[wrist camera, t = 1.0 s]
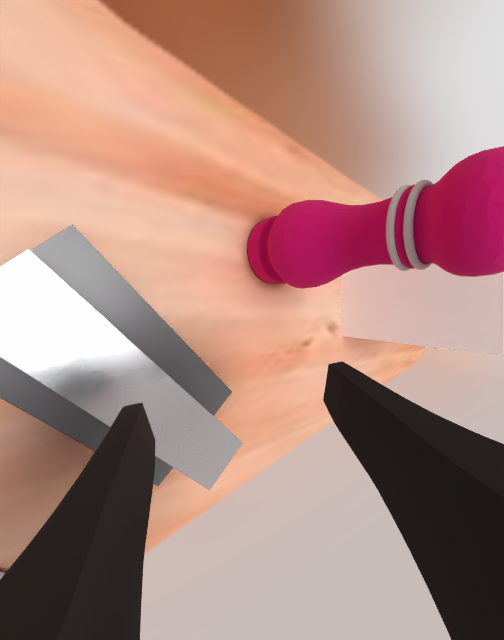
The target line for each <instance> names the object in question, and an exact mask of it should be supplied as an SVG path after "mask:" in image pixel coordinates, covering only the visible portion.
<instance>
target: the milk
mask: <svg viewBox="0 0 504 640" xmlns="http://www.w3.org/2000/svg"><path fill="white" fill-rule="evenodd" d="M341 286H342V336H346V337H354V338H362V339H371V340H379V341H387V342H395V343H403V344H412V345H420V346H428V347H436V348H445V349H453V350H461V351H469V352H478V353H486V354H494V355H503V356H504V272H501V273H498V274H494V275H486V276H477V277H467V276H457V275H453V274H451V273H449V272H446V271H445V270H443V269H442V268H440V267H439V266H437V265H436V264H434V263H432V264H431V265H430V266H429V267H428V268H426V269H424V270H418V269H416V268H414V269H409V270H407V271H402V270H399V269H398V268H397V267H396V266H395V265H373V266H366V267H361V268H358V269H355V270H351V271H349V272H347V273H345V274H343V275H341Z"/></svg>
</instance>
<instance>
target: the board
mask: <svg viewBox="0 0 504 640" xmlns="http://www.w3.org/2000/svg"><path fill="white" fill-rule="evenodd" d="M30 252H32V253H33V254H34V255H35V256H36V257H37V258H38V259H39V260H40V261H42V262H43V263H44V264H45V265H46V266H47V267H48V268H49V269H50V270H52V271H53V272H54V273H55V274H56V275H57V276H58V277H59V278H60V279H62V280H63V281H64V282H65V283H66V284H67V285H68V286H69V287H70V288H72V289H73V290H74V291H75V292H76V293H77V294H78V295H79V296H80V297H82V298H83V299H84V300H85V301H86V302H87V303H88V304H89V305H90V306H92V307H93V308H94V309H95V310H96V311H97V312H98V313H99V314H100V315H102V316H103V317H104V318H105V319H106V320H107V321H108V322H109V323H110V324H112V325H113V326H114V327H115V328H116V329H117V330H118V331H119V332H120V333H122V334H123V335H124V336H125V337H126V338H127V339H128V340H129V341H130V342H132V343H133V344H134V345H135V346H136V347H137V348H138V349H139V350H140V351H142V352H143V353H144V354H145V355H146V356H147V357H148V358H149V359H150V360H152V361H153V362H154V363H155V364H156V365H157V366H158V367H159V368H161V369H162V370H163V371H164V372H165V373H166V374H167V375H168V376H169V377H171V378H172V379H173V380H174V381H175V382H176V383H177V384H178V385H179V386H181V387H182V388H183V389H184V390H185V391H186V392H187V393H188V394H189V395H191V396H192V397H193V398H194V399H195V400H196V401H197V402H198V403H199V404H201V405H202V406H203V407H204V408H205V409H206V410H207V411H208V412H209V413H211V414H212V415H213V416H214V415H215V413H216V412H217V411H218V409H219V408H220V407H221V406H222V404H223V403H224V402H225V401H226V399H227V398H228V397H229V395H230V394H231V393H232V391H231V390H230V389H229V388H228V387H227V386H226V385H225V384H224V383H223V382H222V381H221V380H220V379H219V378H218V377H217V376H216V375H215V373H214V372H213V371H212V370H211V369H210V368H209V367H208V366H207V365H206V364H205V363H204V362H203V361H202V360H201V359H200V358H199V357H198V356H197V355H196V354H195V353H194V351H193V350H192V349H191V348H190V347H189V346H188V345H187V344H186V343H185V342H184V341H183V340H182V339H181V338H180V337H179V336H178V335H177V334H176V333H175V332H174V331H173V329H172V328H171V327H170V326H169V325H168V324H167V323H166V322H165V321H164V320H163V319H162V318H161V317H160V316H159V315H158V314H157V313H156V312H155V311H154V310H153V309H152V307H151V306H150V305H149V304H148V303H147V302H146V301H145V300H144V299H143V298H142V297H141V296H140V295H139V294H138V293H137V292H136V291H135V290H134V289H133V288H132V287H131V285H130V284H129V283H128V282H127V281H126V280H125V279H124V278H123V277H122V276H121V275H120V274H119V273H118V272H117V271H116V270H115V269H114V268H113V267H112V266H111V265H110V263H109V262H108V261H107V260H106V259H105V258H104V257H103V256H102V255H101V254H100V253H99V252H98V251H97V250H96V249H95V248H94V247H93V246H92V245H91V244H90V243H89V241H88V240H87V239H86V238H85V237H84V236H83V235H82V234H81V233H80V232H79V231H78V230H77V229H76V228H75V227H74V226H73V225H71V226H70V227H68V228H67V229H65V230H63V231H62V232H60V233H59V234H57V235H55V236H54V237H52V238H51V239H49V240H47V241H46V242H44V243H42V244H41V245H39V246H38V247H36V248H34V249H33V250H31V251H30ZM0 398H1V399H3V400H5V401H7V402H9V403H10V404H12V405H14V406H16V407H18V408H19V409H21V410H23V411H25V412H26V413H28V414H30V415H32V416H34V417H35V418H37V419H39V420H41V421H43V422H44V423H46V424H48V425H50V426H52V427H53V428H55V429H57V430H59V431H61V432H62V433H64V434H66V435H68V436H69V437H71V438H73V439H75V440H77V441H78V442H80V443H82V444H84V445H86V446H87V447H89V448H91V449H93V450H95V451H96V450H97V448H98V447H99V445H100V443H101V442H102V440H103V439H104V437H105V435H106V434H107V432H108V430H109V429H110V426H108V425H106V424H105V423H103V422H102V421H100V420H99V419H97V418H96V417H94V416H92V415H91V414H89V413H88V412H86V411H85V410H83V409H81V408H80V407H78V406H77V405H75V404H74V403H72V402H71V401H69V400H67V399H66V398H64V397H63V396H61V395H60V394H58V393H56V392H55V391H53V390H52V389H50V388H49V387H47V386H46V385H44V384H42V383H41V382H39V381H38V380H36V379H35V378H33V377H31V376H30V375H28V374H27V373H25V372H24V371H22V370H21V369H19V368H17V367H16V366H14V365H13V364H11V363H10V362H8V361H6V360H5V359H3V358H2V357H0ZM172 468H173V467H172V466H171V465H169V464H167V463H166V462H164V461H163V460H161V459H160V458H158V457H157V456H155V473H154V481H153V483H154V484H155V485H157V486H159V485H160V483H161V482H162V481H163V479H164V478H165V477H166V476H167V474H168V473H169V472H170V471H171V469H172Z"/></svg>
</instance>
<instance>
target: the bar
mask: <svg viewBox="0 0 504 640" xmlns="http://www.w3.org/2000/svg"><path fill="white" fill-rule="evenodd" d="M0 357H2V358H3V359H5V360H6V361H8V362H10V363H11V364H13V365H14V366H16V367H17V368H19V369H21V370H22V371H24V372H25V373H27V374H28V375H30V376H31V377H33V378H35V379H36V380H38V381H39V382H41V383H42V384H44V385H46V386H47V387H49V388H50V389H52V390H53V391H55V392H56V393H58V394H60V395H61V396H63V397H64V398H66V399H67V400H69V401H71V402H72V403H74V404H75V405H77V406H78V407H80V408H81V409H83V410H85V411H86V412H88V413H89V414H91V415H92V416H94V417H96V418H97V419H99V420H100V421H102V422H103V423H105V424H106V425H108V426H110V427H111V426H112V424H113V422H114V421H115V419H116V417H117V415H118V414H119V412H120V410H121V409H122V408H123V407H124V406H127V405H132V404H137V403H143V406H144V409H145V411H146V414H147V417H148V420H149V423H150V426H151V429H152V432H153V434H154V437H155V456H157V457H158V458H160V459H161V460H163V461H164V462H166V463H167V464H169V465H171V466H172V467H174V468H175V469H177V470H178V471H180V472H182V473H183V474H185V475H186V476H188V477H189V478H191V479H192V480H194V481H196V482H197V483H199V484H200V485H202V486H203V487H205V488H207V489H208V490H210V489H211V488H212V486H213V485H214V483H215V482H216V481H217V479H218V478H219V476H220V475H221V473H222V472H223V471H224V469H225V468H226V466H227V465H228V463H229V462H230V460H231V459H232V458H233V456H234V455H235V453H236V452H237V450H238V449H239V448H240V446H241V445H242V443H243V442H242V441H241V440H239V439H238V438H237V437H236V436H235V435H234V434H233V433H232V432H231V431H229V430H228V429H227V428H226V427H225V426H224V425H223V424H222V423H221V422H219V421H218V420H217V419H216V418H215V417H214V416H213V415H212V414H211V413H209V412H208V411H207V410H206V409H205V408H204V407H203V406H202V405H201V404H199V403H198V402H197V401H196V400H195V399H194V398H193V397H192V396H191V395H189V394H188V393H187V392H186V391H185V390H184V389H183V388H182V387H181V386H179V385H178V384H177V383H176V382H175V381H174V380H173V379H172V378H171V377H169V376H168V375H167V374H166V373H165V372H164V371H163V370H162V369H161V368H159V367H158V366H157V365H156V364H155V363H154V362H153V361H152V360H150V359H149V358H148V357H147V356H146V355H145V354H144V353H143V352H142V351H140V350H139V349H138V348H137V347H136V346H135V345H134V344H133V343H132V342H130V341H129V340H128V339H127V338H126V337H125V336H124V335H123V334H122V333H120V332H119V331H118V330H117V329H116V328H115V327H114V326H113V325H112V324H110V323H109V322H108V321H107V320H106V319H105V318H104V317H103V316H102V315H100V314H99V313H98V312H97V311H96V310H95V309H94V308H93V307H92V306H90V305H89V304H88V303H87V302H86V301H85V300H84V299H83V298H82V297H80V296H79V295H78V294H77V293H76V292H75V291H74V290H73V289H72V288H70V287H69V286H68V285H67V284H66V283H65V282H64V281H63V280H62V279H60V278H59V277H58V276H57V275H56V274H55V273H54V272H53V271H52V270H50V269H49V268H48V267H47V266H46V265H45V264H44V263H43V262H42V261H40V260H39V259H38V258H37V257H36V256H35V255H34V254H33V253H32V252H30V251H29V250H27V251H25V252H23V253H22V254H20V255H19V256H17V257H15V258H14V259H12V260H11V261H9V262H7V263H6V264H4V265H2V266H1V267H0Z"/></svg>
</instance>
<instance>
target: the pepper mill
mask: <svg viewBox="0 0 504 640" xmlns="http://www.w3.org/2000/svg"><path fill="white" fill-rule="evenodd" d="M248 257H249V262H250V264H251V267H252V269H253V270H254V272H255V273H256V275H257V276H258V277H259V278H260V279H262V280H263V281H265V282H267V283H288V284H289V285H291V286H293V287H297V288H311V287H317V286H320V285H323V284H326V283H329V282H330V281H332V280H334V279H336V278H338V277H339V276H341V275H343V274H345V273H347V272H349V271H351V270H355V269H358V268H361V267H366V266H373V265H395V266H396V267H397V268H398V269H399V270H402V271H407V270H409V269H414V268H416V269H418V270H424V269H426V268H428V267H429V266H430V265H431V264H432V263H434V264H436V265H437V266H439V267H440V268H442V269H443V270H445V271H446V272H449V273H451V274H453V275H457V276H467V277H477V276H486V275H494V274H498V273H501V272H504V147H499V148H494V149H489V150H484V151H481V152H479V153H476V154H474V155H471V156H469V157H467V158H465V159H464V160H462V161H460V162H459V163H457V164H456V165H455V166H454V167H452V168H451V169H450V170H449V171H448V172H447V173H446V174H445V175H444V176H443V177H442V178H441V179H440V180H439V181H438V182H437V183H435V184H434V185H433V183H432V182H430V181H428V180H421V181H419V182H418V183H417V184H416V185H412V186H410V185H405V186H402V187H400V188H399V189H398V190H397V191H396V193H395V194H394V196H393V197H391V198H389V199H386V200H383V201H381V202H376V203H371V204H366V205H344V204H339V203H334V202H329V201H324V200H306V201H302V202H297V203H293V204H291V205H289V206H288V207H286V208H285V209H283V210H282V212H281V213H280V214H279V215H278V216H274V217H271V218H268V219H265V220H262V221H261V222H259V223H258V224H257V225H256V226H255V227H254V228H253V230H252V232H251V234H250V237H249V240H248Z"/></svg>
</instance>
